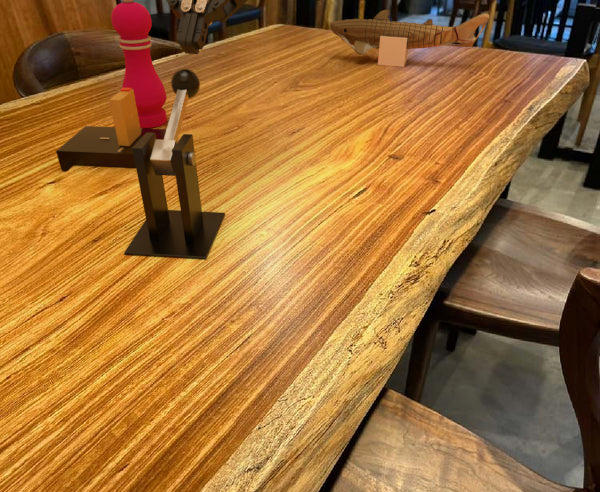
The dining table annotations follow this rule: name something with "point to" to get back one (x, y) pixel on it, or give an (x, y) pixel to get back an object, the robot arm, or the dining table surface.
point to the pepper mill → (140, 62)
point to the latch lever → (174, 121)
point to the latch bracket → (172, 223)
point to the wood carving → (403, 35)
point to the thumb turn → (125, 116)
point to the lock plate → (100, 148)
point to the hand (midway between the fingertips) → (188, 49)
